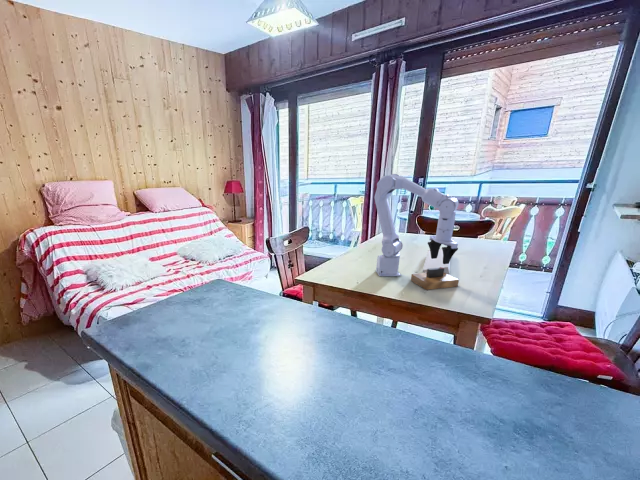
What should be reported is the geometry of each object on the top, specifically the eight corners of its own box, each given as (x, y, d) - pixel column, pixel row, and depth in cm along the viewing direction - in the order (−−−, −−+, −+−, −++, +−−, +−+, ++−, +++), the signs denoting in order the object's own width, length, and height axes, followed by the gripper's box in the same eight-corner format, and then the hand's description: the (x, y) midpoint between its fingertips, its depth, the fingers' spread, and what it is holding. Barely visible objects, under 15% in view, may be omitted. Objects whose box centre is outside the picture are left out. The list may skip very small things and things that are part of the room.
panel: (425, 289, 132) (427, 282, 131) (410, 280, 143) (411, 273, 141) (457, 286, 134) (459, 279, 133) (440, 277, 144) (441, 270, 143)
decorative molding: (424, 280, 148) (449, 277, 143) (422, 270, 147) (448, 266, 142) (429, 258, 175) (450, 255, 170) (427, 250, 174) (449, 246, 169)
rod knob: (428, 278, 136) (429, 269, 134) (426, 276, 137) (427, 268, 136) (443, 276, 137) (444, 267, 135) (440, 275, 138) (442, 266, 137)
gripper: (467, 231, 124) (460, 265, 129) (442, 224, 138) (437, 255, 143) (450, 233, 124) (444, 266, 129) (426, 225, 137) (422, 256, 142)
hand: (439, 260), depth 136 cm, fingers open, 7 cm apart
